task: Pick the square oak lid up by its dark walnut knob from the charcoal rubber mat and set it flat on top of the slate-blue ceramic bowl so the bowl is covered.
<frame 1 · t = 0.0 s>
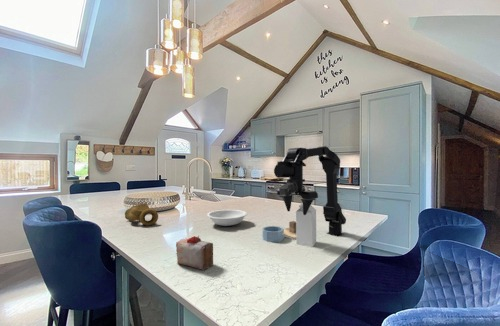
hand: (296, 213, 97), 15 cm above the kitchen island, tool pointing down, fingers open, 9 cm apart
milk carton: (306, 244, 100), on the kitchen island
brown looped sculpture: (140, 223, 140), on the kitchen island
food item: (194, 264, 81), on the kitchen island
ceramic bowl: (273, 239, 107), on the kitchen island
rubber mat: (293, 233, 115), on the kitchen island
soup bowl: (227, 224, 134), on the kitchen island
oak lid: (293, 232, 115), resting on rubber mat
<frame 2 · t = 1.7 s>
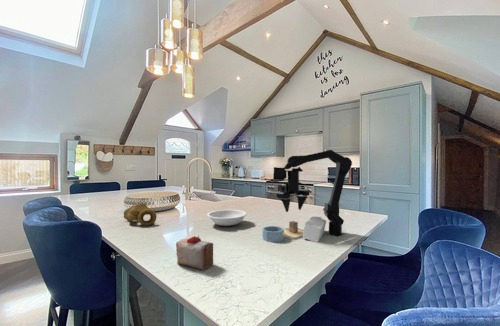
hand: (293, 210, 115), 12 cm above the kitchen island, tool pointing down, fingers open, 9 cm apart
milk carton: (311, 233, 102), point 4 cm above the kitchen island, touching oak lid
oak lid: (293, 232, 115), resting on rubber mat, touching milk carton
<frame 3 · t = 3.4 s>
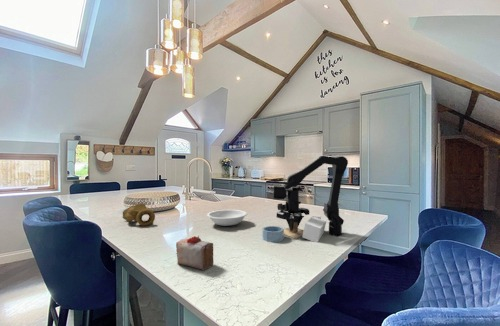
hand: (293, 230, 115), 2 cm above the kitchen island, tool pointing down, fingers closed on oak lid, 3 cm apart
oak lid: (293, 232, 115), resting on rubber mat, touching gripper, milk carton
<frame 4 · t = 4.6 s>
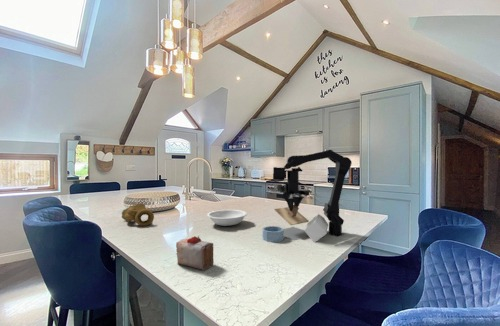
hand: (293, 210, 115), 12 cm above the kitchen island, tool pointing down, fingers closed on oak lid, 3 cm apart
milk carton: (314, 232, 101), point 5 cm above the kitchen island, touching arm, rubber mat
oak lid: (291, 215, 116), point 9 cm above the kitchen island, tilted 25°, touching gripper
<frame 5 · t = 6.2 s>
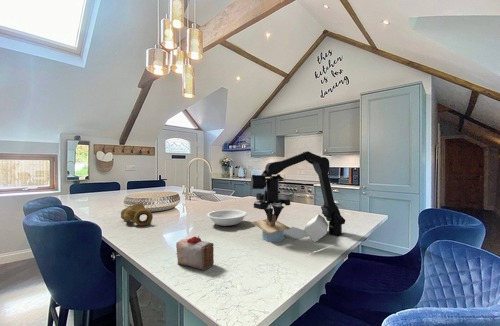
hand: (272, 221, 107), 9 cm above the kitchen island, tool pointing down, fingers closed on oak lid, 3 cm apart
oak lid: (270, 225, 108), point 6 cm above the kitchen island, tilted 9°, touching gripper
when the fingers open (8 cm above the kitchen island, at t = 6.9 s): oak lid stays where it is, resting on ceramic bowl.
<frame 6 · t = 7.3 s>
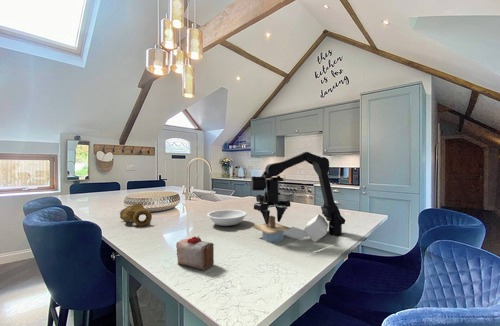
hand: (272, 223, 107), 8 cm above the kitchen island, tool pointing down, fingers open, 7 cm apart
oak lid: (270, 228, 108), point 5 cm above the kitchen island, touching ceramic bowl
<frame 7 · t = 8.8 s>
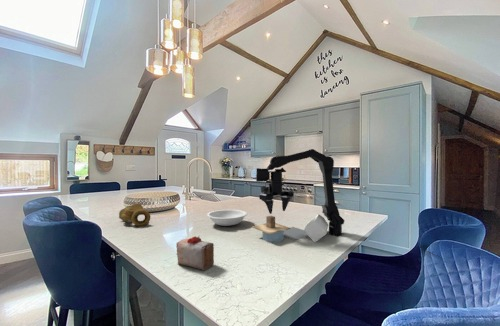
hand: (277, 212, 113), 12 cm above the kitchen island, tool pointing down, fingers open, 9 cm apart
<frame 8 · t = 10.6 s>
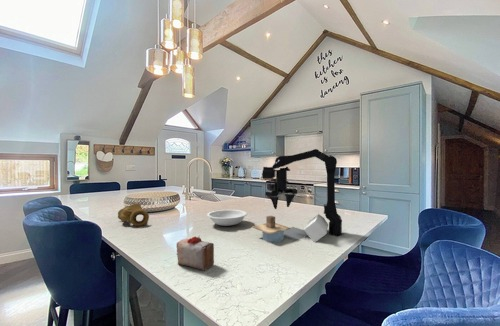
hand: (281, 207, 122), 12 cm above the kitchen island, tool pointing down, fingers open, 9 cm apart
at the end: oak lid 1.5 cm off-centre on the ceramic bowl, point 5.0 cm above the ceramic bowl's base; oak lid tilted 0°; the gripper is holding nothing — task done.
